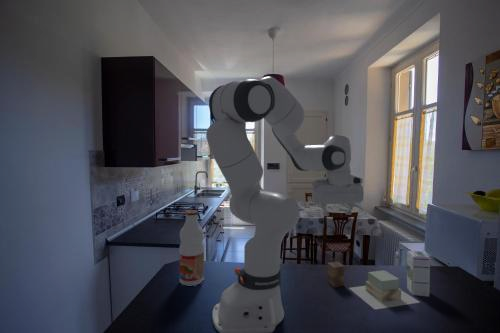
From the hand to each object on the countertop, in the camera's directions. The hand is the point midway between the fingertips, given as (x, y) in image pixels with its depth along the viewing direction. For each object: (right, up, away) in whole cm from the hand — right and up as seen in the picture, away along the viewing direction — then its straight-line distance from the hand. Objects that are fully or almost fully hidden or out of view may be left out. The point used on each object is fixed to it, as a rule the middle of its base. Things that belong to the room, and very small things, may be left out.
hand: (337, 215), depth 100 cm
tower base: (+14, -27, -6) cm, 31 cm away
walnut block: (0, -27, +1) cm, 27 cm away
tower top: (+14, -24, -7) cm, 28 cm away
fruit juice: (-56, -27, +3) cm, 62 cm away
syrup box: (+28, -28, -4) cm, 40 cm away
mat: (+14, -28, -6) cm, 32 cm away
